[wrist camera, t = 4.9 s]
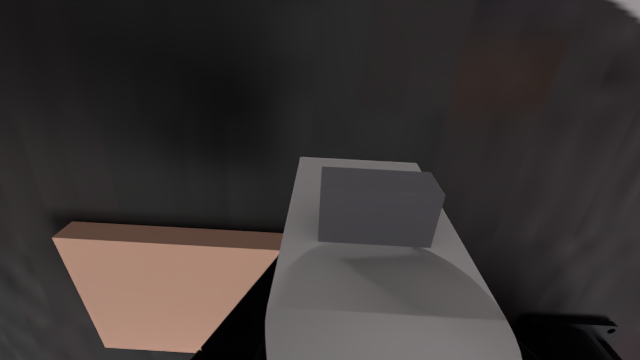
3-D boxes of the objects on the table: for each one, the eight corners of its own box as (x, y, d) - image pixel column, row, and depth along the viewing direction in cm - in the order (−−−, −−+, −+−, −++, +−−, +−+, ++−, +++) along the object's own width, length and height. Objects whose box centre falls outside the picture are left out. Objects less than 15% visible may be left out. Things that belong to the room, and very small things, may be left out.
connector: (424, 125, 9) (678, 425, 2) (391, 279, 12) (462, 596, 5) (300, 119, 9) (217, 396, 2) (298, 273, 12) (259, 582, 5)
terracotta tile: (338, 236, 18) (339, 253, 17) (329, 340, 23) (328, 360, 21) (72, 221, 18) (51, 237, 17) (118, 328, 23) (105, 347, 21)
